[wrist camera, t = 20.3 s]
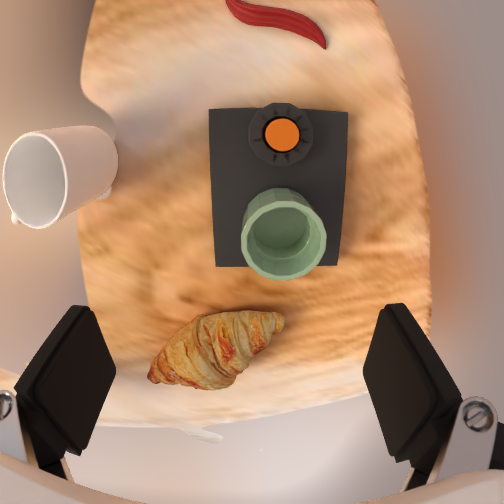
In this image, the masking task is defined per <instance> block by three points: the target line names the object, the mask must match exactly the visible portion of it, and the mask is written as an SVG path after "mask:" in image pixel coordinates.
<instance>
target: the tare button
mask: <svg viewBox="0 0 504 504" xmlns="http://www.w3.org/2000/svg"><path fill="white" fill-rule="evenodd" d="M265 137H266V140H267V142H268V144H269V145H270V146H271V147H272V148H274V149H276V150H278V151H288V150H290V149H292V148H293V147H295V146H296V144H297V143H298V141H299V130H298V128H297V126H296V125H295V124H294V123H293V122H292V121H290V120H288V119H277V120H274V121H272V122H271V123H270V124H269V125H268V126H267V128H266V132H265Z"/></svg>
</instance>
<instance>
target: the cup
mask: <svg viewBox="0 0 504 504" xmlns="http://www.w3.org/2000/svg"><path fill="white" fill-rule="evenodd" d="M117 169H118V153H117V149H116V146H115V144H114V142H113V140H112V139H111V137H110V136H109V135H108V134H107V133H106V132H105V131H103V130H102V129H100V128H98V127H94V126H74V127H64V128H56V129H48V130H41V131H34V132H29V133H26V134H24V135H22V136H20V137H19V138H18V139H17V140H16V141H15V142H14V143H13V144H12V146H11V147H10V149H9V151H8V153H7V156H6V159H5V162H4V167H3V188H4V192H5V196H6V200H7V202H8V205H9V206H10V208H11V210H12V212H13V213H12V216H11V220H12V222H13V223H14V224H16V225H17V224H21V223H23V224H25V225H27V226H29V227H31V228H36V229H43V228H47V227H49V226H51V225H52V224H54V223H55V222H57V221H59V220H60V219H62V218H64V217H65V216H67V215H68V214H70V213H72V212H73V211H75V210H77V209H79V208H80V207H82V206H84V205H85V204H87V203H89V202H91V201H92V200H94V199H96V198H98V197H99V196H100V195H102V194H103V193H105V192H106V191H107V190H108V189H109V187H110V186H111V185H112V183H113V181H114V179H115V177H116V174H117Z"/></svg>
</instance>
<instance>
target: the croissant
mask: <svg viewBox="0 0 504 504" xmlns="http://www.w3.org/2000/svg"><path fill="white" fill-rule="evenodd" d="M284 323H285V319H284V317H283V315H282V314H280V313H277V312H267V311H266V312H259V311H251V310H247V311H236V312H235V311H234V312H222V313H218V314H213V315H208V316H205V315H198V316H197V317H195V318H194V319H193V320H192V321H191V322H189V323H188V324H187V325H186V326H185V327H183V328H181V329H180V330H179V331H178V332H177V333H176V334H175V335H174V336H173V337H172V338H171V339H170V341H169V342H168V343H167V344H166V345H165V346H164V348H163V349H162V350H161V352H160V354H159V355H158V356H157V357H156V358H155V359H154V360H153V361H152V363H151V368H150V371H149V373H148V375H147V378H148V379H149V380H150V381H151V382H152V383H155V384H157V383H160V382H163V383H165V384H172V385H174V384H181V385H184V386H192V387H194V388H195V389H197V388H199V389H203V390H216V389H217V390H218V389H223V388H227V387H229V386H230V385H232V384H233V383H234V381H235V379H236V375H238V374H240V373H242V372H243V370H245V369H246V368H247V367H248V366H249V362H250V361H251V359H252V358H253V357H254V356H255V355H256V354H257V353H259V352H260V351H262V350H263V349H265V348H266V347H267V346H268V343H269V341H270V340H271V339H272V335H273V334H277V333H279V332H280V331H281V330H282V328H283V326H284Z"/></svg>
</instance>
